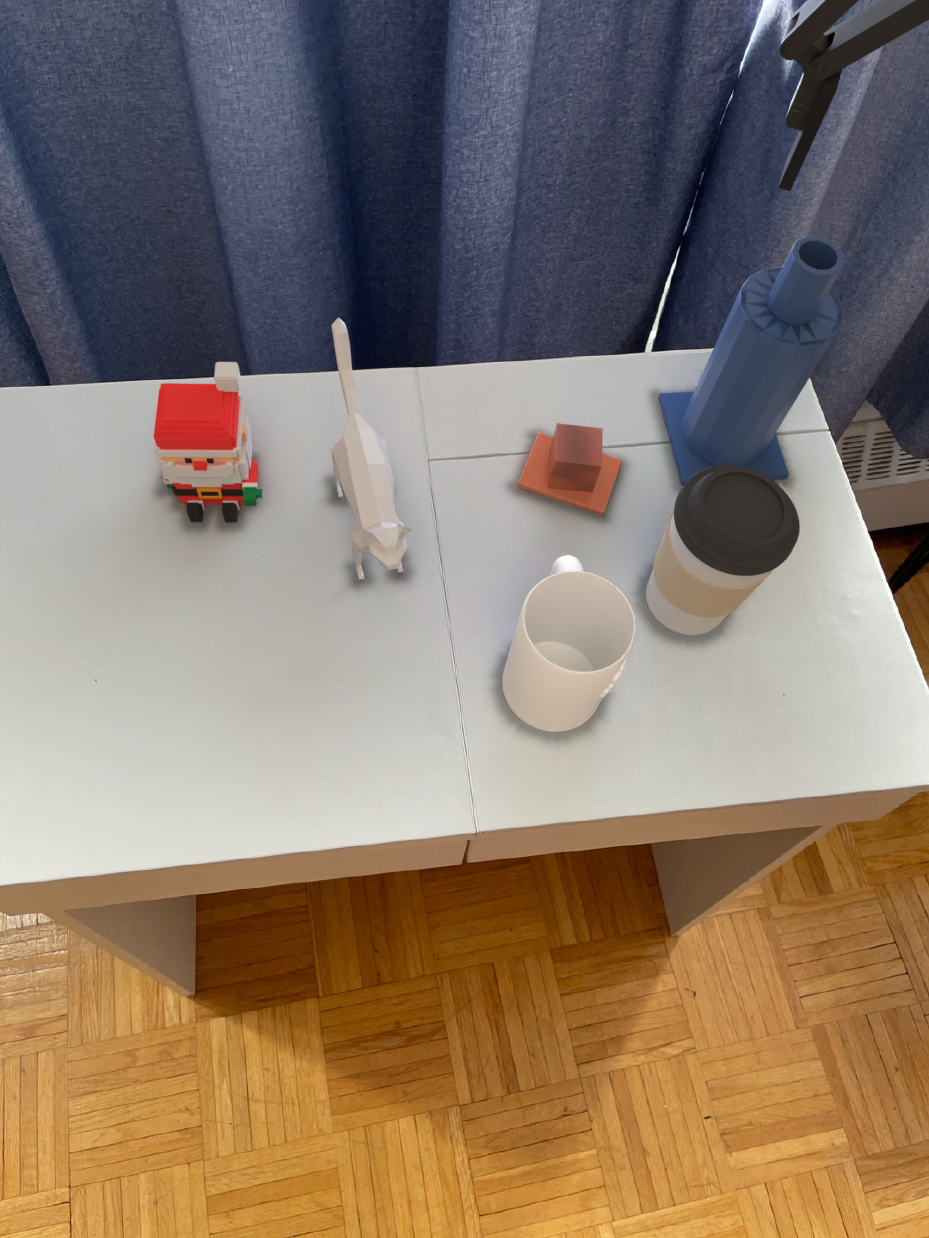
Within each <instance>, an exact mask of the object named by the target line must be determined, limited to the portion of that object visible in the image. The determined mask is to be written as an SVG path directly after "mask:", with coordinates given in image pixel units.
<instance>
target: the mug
mask: <svg viewBox="0 0 929 1238" xmlns="http://www.w3.org/2000/svg"><path fill="white" fill-rule="evenodd" d="M521 607H522V608H521V611H520V614H519V618H518V621H517V625H516V628H515V631H514V635H513V638H512V641H511V645H510V649H509V651H508V655H507V657H506V662H505V665H504V668H503V673H502V679H501V680H502V683H501V684H502V692H503V695H504V698H505V700H506V703H507V704H508V706H509V708H510V709H511V711H512V713H514V715H516V716H517V717H518V719H520V720H521V721H522V722H524V723H525V724H527V725H528V726H530V727H532V728H534V729H538V730H540V731H544V732H550V733H551V732H553V733H558V732H566V731H570V730H574V729H576V728H578V727H580V726H582V725H583V724H584V723H586V722H588V720H589V719H591V717H592V716H593V715H594V713H595V712H596V710H597V709H598V708H599V706H600V703H601V702H602V700H603V699H604V698H605V697H606V696H607V695H608V694H609V693H610V692H611V690H612V689H613V688H614V686H615V684H616V683H617V681H618V680H619V678H620V676H621V674H622V672H623V670H624V668H625V665H626V661H627V657H628V655H629V653H630V652H631V650H632V648H633V646H634V643H635V639H636V634H637V623H636V617H635V612H634V611H633V608H632V606H631V603H630V602H629V601H628V599H627V597H626V596H625V594H624V593H623V592H622V591H621V590H620V588H618V587H617V586H616V585H614V584H613V583H612V582H611V581H610V580H608V579H606V578H604V577H602V576H601V575H597V574H594V573H592V572H589V571H584V568H583V564H582V563H581V561H580V560H579V559H578V558H577V557H575V556H573V555H570V554H566V555H561V556H559V557H558V558H557V559H555V560H554V562H553V564H552V566H551V570H550V573H549V576H547V577H545V578H543V579H542V580H541V581H538V582H537V583H536V584H535V585H534V586H533V587H532V588H531V590H530V591H529V592H528V594H527V596H526V597H525V599H524V602H523V604H522V606H521Z"/></svg>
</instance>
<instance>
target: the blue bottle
mask: <svg viewBox="0 0 929 1238" xmlns="http://www.w3.org/2000/svg"><path fill="white" fill-rule="evenodd" d="M845 262H846V259H845V255H844V253H843V250H842V249H841V248H840V247H839V246H838V245H837V244H836V243H835V242H833V241H832V240H831V239H827V238H825V237H822V236H821V235H805V236H803V237H801V238H798V239H797V240H795V241H794V243H793V246H792V247H791V249H790V251H789V253H788V255H787V257H786V259H785V261H784V263H783V265H782V266H779V267H778V266H777V267H769V268H763V269H761V270H759V271H757V272H755V273H754V274H751V275H750V276H748V277H747V279H746V280H745V282H744V283H743V285H742V286H741V288H740V289H739V292H738V293H737V296H736V298H735V300H734V303H733V305H732V307H731V309H730V311H729V314H728V316H727V318H726V321H725V322H724V325H723V326H722V329H721V332H720V334H719V336H718V337H717V340H716V342H715V345H714V347H713V350H712V351H711V353H710V355H709V358H708V359H707V362H706V365H705V366H704V369H703V371H702V373H701V375H700V378H699V380H698V382H697V385H696V387H695V388H694V391H693V392H694V393H693V395H692V397H691V400H690V402H689V404H688V406H687V408H686V411H685V413H684V417H683V420H682V434H683V437H684V440H685V442H686V444H687V445H688V447H689V448H690V449H691V451H692V452H693V453H694V454H695V455H697V456H698V457H699V458H700V459H702V460H704V461H705V462H707V463H709V464H712V465H714V466H718V465H735V466H741V467H745V466H748V465H750V464H752V463H754V462H755V461H757V460H758V459H759V458H760V457H761V456H762V454H763V453H764V451H765V450H766V448H767V446H768V445H769V443H770V441H771V440H772V438H773V437H774V435H775V433H776V434H777V432H778V430H779V429H780V427H781V425H782V424H783V422H784V420H785V419H786V417H787V416H788V413H789V412H790V411H791V410H792V407H793V405H794V404H795V403H796V401H797V399H798V397H799V396H800V394H801V393H802V391H803V389H804V387H806V384H807V382H808V381H809V379H810V377H811V376H812V374H813V373H814V371H815V370H816V368H817V366H818V364H819V363H820V362H821V360H822V358H823V356H824V355H825V353H826V352H827V350H828V349H829V347H830V345H831V344H832V343H833V340H834V338H836V335H837V334H838V332H839V330H840V329H841V327H842V326H843V313H844V312H843V306H842V304H841V302H840V301H839V298H838V296H837V294H836V292H835V291H834V290H833V289H832V287H833V285H834V283H835V282H836V280H837V278H838V277H839V275H840V273H841V271H842V269H843V267H844V264H845Z"/></svg>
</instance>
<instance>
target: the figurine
mask: <svg viewBox="0 0 929 1238" xmlns="http://www.w3.org/2000/svg"><path fill="white" fill-rule="evenodd" d="M213 375H214V376H213V379H214V383H180V382H179V383H177V382H176V383H172V382H171V383H170V382H166V383H165V382H162V383H160V387H159V389H158V396H157V405H156V412H155V421H154V428H153V439H154V444H153V451H154V454H155V455H157V457H158V459H157V464H158V468H159V471H160V473H161V475H162V477H163V480H162V483H163V484H164V485H166V487H167V489H172V490H171V491H172V492H173V495H175V496H176V497H177V499H178V501H179V502H180V503H181V504H182V505H185V511H186V513H187V517H188V519H189V523H203V517H204V512H205V511H206V507H205V505H221V512H222V515H223V518H224V522H225V523H238V514H239V513H238V512H240V508H241V507H240V505H243V506H244V507H257V504H258V503H257V502H258V501H257V500H258V499H263V488H259V464H258V463H259V462H258V461H256V460H255V459H252V458H253V440H252V429H251V424H250V419H249V415H248V414H244V409H245V401H244V398H242V397H241V395H239V392H240V388H241V371H240V367H239V363H237V361H217V362H215V365H214V374H213Z"/></svg>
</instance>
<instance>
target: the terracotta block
mask: <svg viewBox="0 0 929 1238" xmlns="http://www.w3.org/2000/svg"><path fill="white" fill-rule="evenodd" d="M603 433H604V432H603V427H595V426H586V425H578V424H570V423H569V424H568V423H560V422H558V423H556V425H555V427H554V432H553V436H552V437H553V439H552V443H551V447H550V452H549V472H548V487H550V488H559V489H568V490H577V491H586V492H593V490H594V487H595V484H596V481H597V478H598V476H599V473H600V470H601V467H602V453H603Z"/></svg>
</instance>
